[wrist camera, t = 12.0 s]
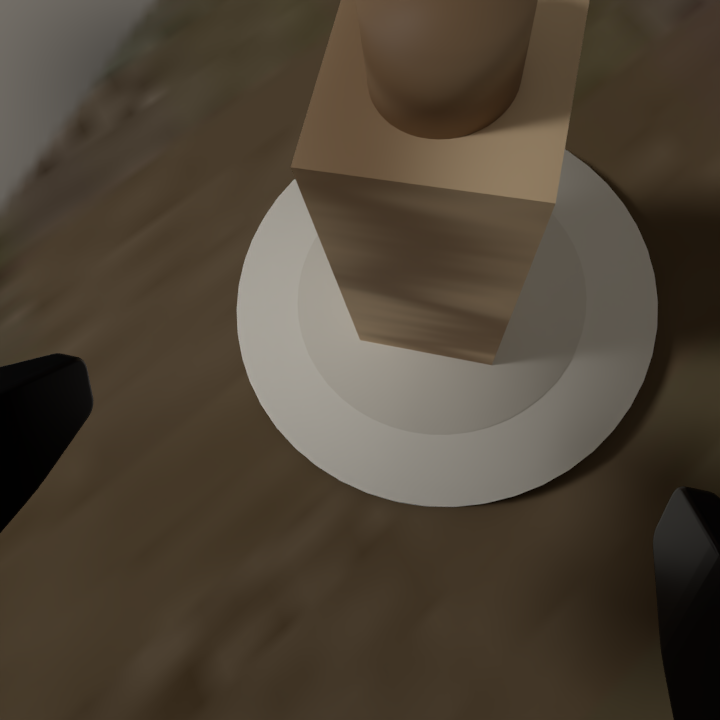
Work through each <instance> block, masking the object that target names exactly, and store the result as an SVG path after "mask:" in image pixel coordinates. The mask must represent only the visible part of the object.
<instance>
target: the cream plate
mask: <svg viewBox="0 0 720 720" xmlns="http://www.w3.org/2000/svg"><path fill="white" fill-rule="evenodd" d="M657 316H658V298H657V290H656V282H655V275H654V271H653V267H652V264H651V260H650V257H649V253H648V249H647V247H646V245H645V243H644V240H643V238H642V236H641V233H640V231H639V229H638V227H637V225H636V223H635V221H634V220H633V218H632V217H631V215H630V213H629V212H628V210H627V208H626V207H625V205H624V204H623V202H622V201H621V200H620V199H619V197H618V196H617V195H616V194H615V193H614V191H613V190H612V189H611V188H610V187H609V185H608V184H607V183H606V182H605V181H604V180H603V179H602V178H601V177H600V176H598V175H597V174H596V173H595V172H594V171H593V170H592V169H591V168H590V167H589V166H588V165H586V164H585V163H583V162H582V161H581V160H579V159H578V158H577V157H575V156H574V155H572V154H571V153H570V152H568V151H567V150H564V156H563V162H562V168H561V174H560V180H559V186H558V192H557V198H556V204H555V206H554V209H553V211H552V214H551V216H550V219H549V221H548V224H547V226H546V229H545V232H544V234H543V237H542V239H541V242H540V244H539V247H538V249H537V252H536V254H535V257H534V259H533V262H532V264H531V267H530V270H529V272H528V275H527V277H526V280H525V282H524V285H523V287H522V290H521V292H520V295H519V297H518V300H517V302H516V305H515V308H514V310H513V313H512V315H511V318H510V320H509V323H508V325H507V328H506V330H505V333H504V335H503V338H502V341H501V343H500V346H499V348H498V351H497V353H496V356H495V358H494V361H493V363H492V365H488V364H483V363H477V362H472V361H467V360H462V359H456V358H451V357H446V356H441V355H435V354H430V353H425V352H420V351H414V350H409V349H404V348H399V347H393V346H388V345H383V344H378V343H372V342H367V341H362V340H360V339H359V336H358V334H357V331H356V329H355V326H354V324H353V321H352V319H351V316H350V314H349V311H348V309H347V306H346V304H345V301H344V299H343V296H342V294H341V291H340V289H339V286H338V284H337V281H336V279H335V276H334V274H333V271H332V269H331V266H330V264H329V261H328V259H327V256H326V254H325V252H324V249H323V247H322V244H321V242H320V239H319V237H318V234H317V232H316V229H315V227H314V224H313V222H312V219H311V217H310V214H309V212H308V209H307V207H306V204H305V202H304V199H303V197H302V194H301V192H300V189H299V187H298V184H297V182H296V179H294V180H293V181H292V182H291V184H290V185H289V186H288V187H287V188H286V189H285V190H284V191H283V193H282V194H281V195H280V196H279V197H278V198H277V200H276V201H275V202H274V204H273V205H272V207H271V208H270V210H269V211H268V213H267V214H266V215H265V217H264V218H263V220H262V222H261V224H260V226H259V228H258V230H257V232H256V234H255V236H254V238H253V240H252V242H251V245H250V248H249V250H248V253H247V256H246V259H245V261H244V265H243V270H242V274H241V278H240V283H239V290H238V301H237V327H238V338H239V343H240V349H241V354H242V359H243V362H244V365H245V368H246V371H247V374H248V377H249V380H250V383H251V385H252V387H253V389H254V391H255V393H256V395H257V397H258V399H259V401H260V403H261V405H262V407H263V408H264V410H265V411H266V413H267V414H268V416H269V417H270V419H271V420H272V422H273V423H274V424H275V426H276V427H277V429H278V430H279V431H280V432H281V433H282V434H283V435H284V436H285V437H286V439H287V440H288V441H289V442H290V443H291V444H292V445H293V446H294V447H295V448H296V449H297V450H298V451H299V452H301V453H302V454H303V455H304V456H305V457H307V458H308V459H309V460H310V461H311V462H312V463H314V464H315V465H316V466H318V467H319V468H321V469H322V470H324V471H326V472H327V473H329V474H330V475H332V476H334V477H335V478H337V479H338V480H340V481H342V482H344V483H346V484H349V485H351V486H353V487H355V488H357V489H360V490H362V491H364V492H366V493H369V494H372V495H375V496H378V497H382V498H385V499H388V500H392V501H395V502H400V503H406V504H412V505H418V506H425V507H461V506H470V505H479V504H485V503H489V502H493V501H497V500H501V499H505V498H509V497H513V496H516V495H519V494H521V493H524V492H526V491H529V490H531V489H534V488H536V487H539V486H541V485H544V484H545V483H547V482H549V481H551V480H552V479H554V478H556V477H558V476H559V475H561V474H563V473H565V472H566V471H568V470H570V469H571V468H573V467H574V466H575V465H576V464H578V463H579V462H580V461H582V460H583V459H584V458H585V457H587V456H588V455H589V454H591V453H592V452H593V451H594V450H595V449H596V448H597V447H598V446H599V445H600V444H601V443H602V442H603V441H604V440H605V439H606V438H607V437H608V436H609V435H610V434H611V433H612V431H613V430H614V429H615V428H616V426H617V425H618V424H619V422H620V421H621V419H622V418H623V417H624V415H625V414H626V412H627V411H628V410H629V408H630V407H631V405H632V403H633V401H634V399H635V397H636V395H637V393H638V391H639V389H640V387H641V385H642V384H643V382H644V379H645V376H646V373H647V370H648V367H649V364H650V361H651V358H652V355H653V349H654V343H655V338H656V332H657Z"/></svg>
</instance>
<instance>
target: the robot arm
mask: <svg viewBox="0 0 720 720" xmlns="http://www.w3.org/2000/svg"><path fill="white" fill-rule="evenodd" d="M92 408H93V395H92V390H91V385H90V380H89V376H88V371H87V366H86V364H85V362H84V361H83V360H82V359H81V358H79V357H75V356H70V355H65V354H60V353H56V354H51V355H47V356H43V357H39V358H35V359H31V360H27V361H23V362H19V363H15V364H11V365H7V366H3V367H0V533H1V532H2V530H3V529H4V528H5V527H6V526H7V525H8V523H9V522H10V521H11V520H12V519H13V518H14V516H15V515H16V514H17V513H18V512H19V511H20V509H21V508H22V507H23V506H24V505H25V504H26V502H27V501H28V500H29V499H30V497H31V496H32V495H33V494H34V493H35V491H36V490H37V489H38V488H39V486H40V485H41V483H42V482H43V481H44V479H45V478H46V477H47V475H48V474H49V472H50V471H51V470H52V468H53V467H54V465H55V464H56V462H57V461H58V460H59V458H60V457H61V455H62V454H63V452H64V451H65V450H66V448H67V447H68V445H69V444H70V442H71V441H72V440H73V438H74V437H75V435H76V434H77V432H78V431H79V430H80V428H81V427H82V425H83V424H84V422H85V421H86V420H87V418H88V417H89V415H90V413H91V411H92ZM653 553H654V567H655V580H656V593H657V607H658V620H659V634H660V644H661V654H662V660H663V666H664V672H665V677H666V682H667V687H668V692H669V697H670V702H671V708H672V713H673V718H674V720H720V498H719V497H718V496H716V495H715V494H714V493H711V492H708V491H704V490H699V489H694V488H689V487H685V486H682V487H679V488H677V489H676V490H675V491H674V492H673V494H672V496H671V498H670V500H669V502H668V504H667V506H666V508H665V510H664V513H663V515H662V517H661V519H660V521H659V523H658V525H657V527H656V529H655V533H654V538H653Z"/></svg>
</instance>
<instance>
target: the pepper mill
mask: <svg viewBox="0 0 720 720" xmlns="http://www.w3.org/2000/svg"><path fill="white" fill-rule="evenodd" d="M588 6H589V0H341V2H340V5H339V9H338V12H337V15H336V19H335V22H334V25H333V29H332V32H331V35H330V38H329V42H328V45H327V48H326V52H325V55H324V58H323V62H322V65H321V68H320V72H319V75H318V78H317V82H316V85H315V88H314V92H313V95H312V98H311V101H310V105H309V108H308V111H307V115H306V118H305V121H304V125H303V128H302V131H301V135H300V138H299V141H298V145H297V148H296V151H295V154H294V158H293V161H292V164H291V169H292V172H293V174H294V177H295V179H296V182H297V184H298V187H299V189H300V192H301V194H302V197H303V199H304V202H305V204H306V207H307V209H308V212H309V214H310V217H311V219H312V222H313V224H314V227H315V229H316V232H317V234H318V237H319V239H320V242H321V244H322V247H323V249H324V252H325V254H326V256H327V259H328V261H329V264H330V266H331V269H332V271H333V274H334V276H335V279H336V281H337V284H338V286H339V289H340V291H341V294H342V296H343V299H344V301H345V304H346V306H347V309H348V311H349V314H350V316H351V319H352V321H353V324H354V326H355V329H356V331H357V334H358V336H359V339H360V340H362V341H367V342H372V343H378V344H383V345H388V346H393V347H399V348H404V349H409V350H414V351H420V352H425V353H430V354H435V355H441V356H446V357H451V358H456V359H462V360H467V361H472V362H477V363H483V364H488V365H492V363H493V361H494V358H495V356H496V353H497V351H498V348H499V346H500V343H501V341H502V338H503V335H504V333H505V330H506V328H507V325H508V323H509V320H510V318H511V315H512V313H513V310H514V308H515V305H516V302H517V300H518V297H519V295H520V292H521V290H522V287H523V285H524V282H525V280H526V277H527V275H528V272H529V270H530V267H531V264H532V262H533V259H534V257H535V254H536V252H537V249H538V247H539V244H540V242H541V239H542V237H543V234H544V232H545V229H546V226H547V224H548V221H549V219H550V216H551V214H552V211H553V209H554V206H555V204H556V198H557V192H558V186H559V180H560V174H561V168H562V162H563V156H564V150H565V144H566V138H567V132H568V126H569V120H570V114H571V108H572V102H573V96H574V90H575V84H576V78H577V72H578V66H579V60H580V54H581V48H582V42H583V36H584V30H585V24H586V18H587V12H588Z"/></svg>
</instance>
